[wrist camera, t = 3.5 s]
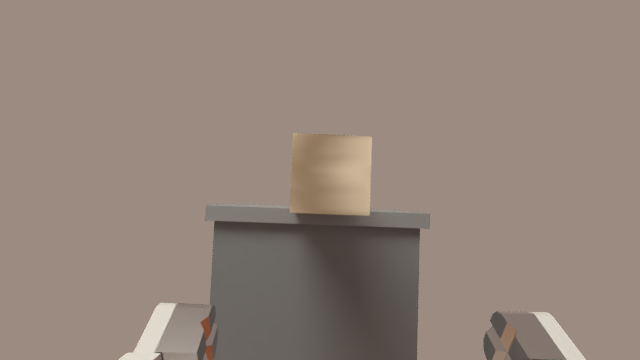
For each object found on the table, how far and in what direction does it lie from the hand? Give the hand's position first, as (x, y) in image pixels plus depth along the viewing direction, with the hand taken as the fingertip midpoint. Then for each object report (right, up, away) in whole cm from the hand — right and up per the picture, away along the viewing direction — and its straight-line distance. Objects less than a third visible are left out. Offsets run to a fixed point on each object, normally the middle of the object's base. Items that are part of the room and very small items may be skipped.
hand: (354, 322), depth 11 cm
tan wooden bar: (-1, +2, +17) cm, 17 cm away
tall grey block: (-2, -24, +18) cm, 30 cm away
